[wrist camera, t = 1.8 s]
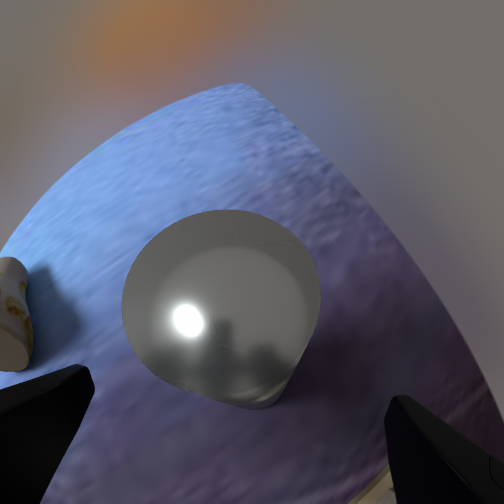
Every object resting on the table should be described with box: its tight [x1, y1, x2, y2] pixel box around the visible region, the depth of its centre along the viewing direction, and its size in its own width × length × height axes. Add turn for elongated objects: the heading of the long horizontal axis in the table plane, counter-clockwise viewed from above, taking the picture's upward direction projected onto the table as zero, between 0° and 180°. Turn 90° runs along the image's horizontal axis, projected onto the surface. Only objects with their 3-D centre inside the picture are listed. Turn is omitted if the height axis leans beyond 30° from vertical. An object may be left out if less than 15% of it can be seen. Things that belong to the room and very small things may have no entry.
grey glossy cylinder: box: [122, 210, 321, 410], centre depth 10 cm, size 4×4×13 cm
